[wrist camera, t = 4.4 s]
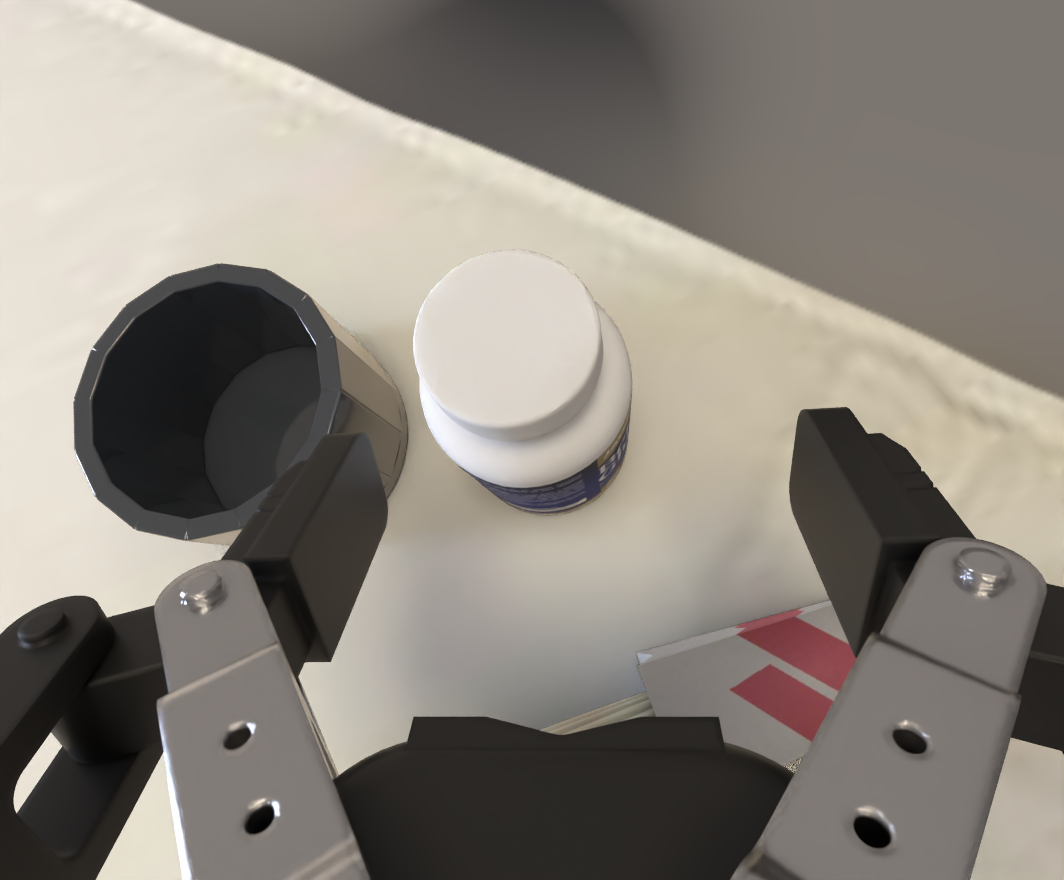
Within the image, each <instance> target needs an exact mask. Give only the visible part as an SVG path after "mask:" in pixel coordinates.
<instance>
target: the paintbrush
mask: <svg viewBox="0 0 1064 880" xmlns="http://www.w3.org/2000/svg"><path fill="white" fill-rule="evenodd" d="M636 654H637V656H638V659H639V662H640V664H639V665H637V668H638V670H639V673H640V676H641V678H642V681H643V684H644V686H645V689H646V691H647V692H644V693H641V694H638V695H634V696H631V697H628V698H625V699H623V700H620V701H617V702H614V703H612V704H609V705H606V706H603V707H601V708H598V709H595V710H592V711H590V712H587V713H584V714H581V715H579V716H576V717H573V718H570V719H568V720H565V721H562V722H559V723H557V724H554V725H551V726H548V727H546V728H543V729H540V731H544V732H548V733H552V734H558V735H565V734H571V733H575V732H579V731H583V730H588V729H592V728H596V727H600V726H604V725H608V724H612V723H616V722H621V721H625V720H629V719H633V718H637V717H719V720H720V725H721V730H722V735H723V740H724V742H726V743H730V744H733V745H737V746H740V747H743V748H746V749H748V750H751V751H754V752H756V753H759V754H761V755H763V756H765V757H767V758H769V759H771V760H773V761H775V762H777V763H778V764H780V765H782V766H783V765H785V764H788V763H790V762H792V761H794V760H796V759H798V758H801V757H803V756H804V755H805V754H806V752H807V750H808V748H809V746H810V744H811V742H812V741H813V739H814V737H815V735H816V733H817V731H818V729H819V727H820V726H821V724H822V722H823V720H824V718H825V716H826V714H827V713H828V711H829V709H830V707H831V705H832V703H833V701H834V700H835V698H836V696H837V694H838V692H839V690H840V688H841V687H842V685H843V683H844V681H845V679H846V677H847V675H848V674H849V672H850V670H851V668H852V666H853V664H854V662H855V661H856V659H857V658H855V656H854V654H853V652H852V649H851V647H850V645H849V642H848V640H847V638H846V635H845V633H844V631H843V629H842V626H841V624H840V622H839V619H838V617H837V615H836V612H835V610H834V608H833V605H832V603H831V601H830V600H828V601H825V602H821V603H817V604H814V605H810V606H806V607H802V608H799V609H795V610H791V611H788V612H784V613H780V614H777V615H773V616H769V617H766V618H762V619H758V620H754V621H751V622H747V623H743V624H740V625H736V626H732V627H729V628H725V629H721V630H718V631H714V632H710V633H706V634H703V635H699V636H695V637H692V638H688V639H684V640H681V641H677V642H673V643H669V644H666V645H662V646H658V647H655V648H651V649H647V650H644V651H640V652H636Z"/></svg>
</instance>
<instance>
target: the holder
mask: <svg viewBox="0 0 1064 880" xmlns="http://www.w3.org/2000/svg"><path fill="white" fill-rule="evenodd" d="M74 399H75V400H74V402H73V404H74V450H75V452H76V453H75V454H76V457H77V459H78V461H79V463H80V465H81V467H82V470H83V472H84V474H85V476H86V478H87V480H88V483H89V485H90V487H91V489H92V491H93V494H94V496H95V497H97V500H99V501H100V502H101V503H102V504H104V505H105V506H106V507H107V508H109V509H110V510H111V511H112V512H113V513H115V514H116V515H117V516H118V517H120V518H121V519H122V520H123V521H125V522H126V523H127V524H128V525H130V526H131V527H132V528H133V529H136V530H137V531H141V532H146V533H150V534H155V535H160V536H164V537H169V538H174V539H178V540H183V541H190V542H200V543H209V544H218V545H228V546H231V545H232V543H233V542H234V541H235V539H236V538H237V536H238V535H239V533H240V532H241V531H242V529H243V528H244V526H245V525H246V523H247V522H248V520H249V519H250V518H251V516H252V515H253V513H256V512H257V510H256V509H257V508H258V506H259V505H260V503H261V502H262V500H263V499H264V498H267V493H268V492H269V490H270V489H271V488H272V486H273V485H274V483H275V482H276V480H277V479H278V478H279V476H281V475H282V474H283V473H285V472H286V471H287V470H289V469H290V468H291V467H293V466H294V465H295V464H296V463H298V462H299V461H304V460H308V458H309V457H310V455H311V454H312V452H313V451H314V449H315V448H316V446H317V445H318V443H319V442H320V440H321V439H322V437H323V436H324V435H326V434H340V433H358V432H364V433H366V434H367V435H368V437H369V439H370V441H371V444H372V447H373V451H374V455H375V458H376V462H377V465H378V469H379V472H380V476H381V480H382V483H383V487H384V490H385V494H386V498H388V496H389V494H390V493H391V491H392V489H393V488H394V486H395V483H396V481H397V479H398V477H399V475H400V472H401V469H402V465H403V462H404V459H405V453H406V447H407V432H408V431H407V419H406V414H405V409H404V405H403V402H402V399H401V396H400V394H399V391H398V389H397V388H396V386H395V384H394V382H393V380H392V379H391V378H390V376H389V375H388V374H387V372H386V371H385V370H384V369H383V368H382V367H381V366H380V365H379V363H378V362H377V360H376V359H375V357H374V356H373V355H372V354H370V353H369V352H368V351H367V350H366V349H365V348H364V347H363V346H362V345H361V344H360V343H359V342H358V341H357V340H356V339H355V338H354V337H353V336H352V335H350V334H349V333H348V332H347V331H346V330H345V329H344V328H343V327H342V326H341V325H340V324H339V323H338V322H337V321H336V320H335V319H334V318H333V317H331V316H330V315H329V314H328V313H327V312H326V311H325V310H324V309H323V308H322V307H321V306H320V305H319V304H318V303H317V302H316V301H315V300H314V299H313V298H311V297H310V296H309V295H308V294H307V293H305V292H304V291H302V290H301V289H299V288H297V287H296V286H294V285H293V284H291V283H289V282H288V281H286V280H285V279H283V278H281V277H280V276H278V275H277V274H275V273H274V272H272V271H269V270H267V269H260V268H252V267H245V266H237V265H230V264H222V263H221V264H214V265H210V266H206V267H202V268H199V269H195V270H191V271H187V272H183V273H179V274H175V275H172V276H171V277H170V276H169V277H167V278H165V279H164V280H162V281H161V282H159V283H158V284H156V285H155V286H153V287H152V288H150V289H149V290H147V291H146V292H144V293H143V294H141V295H140V296H138V297H137V298H135V299H134V300H132V301H131V302H129V303H128V304H126V307H124V308H123V309H122V310H121V312H120V313H119V314H118V315H117V317H116V318H115V319H114V320H113V322H112V323H111V324H110V326H109V327H108V328H107V329H106V331H105V332H104V333H103V335H102V336H101V337H100V338H99V340H98V341H97V342H96V344H95V345H94V346H93V350H91V351H90V354H89V357H88V360H87V363H86V366H85V368H84V371H83V374H82V377H81V380H80V383H79V385H78V388H77V391H76V394H75V397H74Z"/></svg>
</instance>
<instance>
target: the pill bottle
mask: <svg viewBox="0 0 1064 880" xmlns="http://www.w3.org/2000/svg"><path fill="white" fill-rule="evenodd" d="M413 352H414V359H415V364H416V368H417V371H418V374H419V376H420V383H419V385H420V398H421V404H422V408H423V412H424V416H425V419H426V422H427V424H428V426H429V428H430V430H431V432H432V434H433V436H434V438H435V439H436V441H437V442H438V444H439V445H440V446H441V448H442V449H443V450H444V452H445V453H446V454H447V455H448V456H449V457H450V458H451V459H452V460H453V461H454V462H455V463H456V464H457V465H458V466H459V467H460V468H462V469H463V470H464V471H466V472H467V473H469V474H470V475H471V476H472V477H474V478H475V479H476V480H477V481H478V482H480V483H481V484H482V485H483V486H485V487H486V488H487V489H488V490H490V491H491V492H492V493H493V494H494V495H496V496H497V497H498V498H500V499H501V500H503V501H504V502H506V503H507V504H509V505H511V506H513V507H515V508H517V509H520V510H523V511H525V512H529V513H534V514H540V515H555V514H562V513H567V512H571V511H574V510H577V509H579V508H581V507H583V506H585V505H587V504H589V503H590V502H592V501H593V500H595V499H596V498H597V497H599V496H600V495H601V494H602V493H603V492H604V491H605V490H606V489H607V488H608V487H609V486H610V484H611V483H612V482H613V480H614V479H615V477H616V476H617V474H618V472H619V470H620V468H621V466H622V463H623V460H624V457H625V453H626V449H627V442H628V432H629V420H630V409H631V397H632V375H631V365H630V360H629V356H628V352H627V349H626V346H625V343H624V340H623V338H622V336H621V334H620V332H619V330H618V328H617V326H616V325H615V323H614V322H613V320H612V319H611V317H610V316H609V315H608V314H607V313H606V312H605V310H604V309H603V308H602V307H600V306H599V305H598V304H597V303H596V302H595V301H594V300H593V298H592V296H591V294H590V292H589V291H588V289H587V288H586V286H585V285H584V283H583V282H582V281H581V280H580V279H579V277H578V276H576V275H575V274H574V273H573V272H572V271H571V270H570V269H569V268H567V267H566V266H564V265H563V264H561V263H560V262H558V261H556V260H554V259H552V258H550V257H548V256H545V255H543V254H539V253H535V252H532V251H525V250H500V251H494V252H489V253H486V254H482V255H479V256H476V257H473V258H471V259H469V260H467V261H465V262H463V263H461V264H460V265H458V266H457V267H455V268H454V269H453V270H451V271H450V272H449V273H447V274H446V275H445V276H444V277H443V278H442V279H441V280H440V281H439V282H438V283H437V284H436V285H435V286H434V287H433V289H432V290H431V292H430V293H429V294H428V296H427V298H426V299H425V301H424V303H423V305H422V307H421V309H420V311H419V314H418V317H417V321H416V324H415V329H414V337H413Z"/></svg>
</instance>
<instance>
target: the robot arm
mask: <svg viewBox="0 0 1064 880" xmlns="http://www.w3.org/2000/svg"><path fill="white" fill-rule="evenodd" d="M789 493H790V503H791V508H792V512H793V515H794V517H795V520H796V522H797V524H798V527H799V529H800V531H801V534H802V536H803V538H804V540H805V543H806V545H807V547H808V550H809V552H810V554H811V557H812V559H813V561H814V564H815V566H816V568H817V571H818V573H819V575H820V578H821V580H822V582H823V585H824V587H825V589H826V591H827V594H828V596H829V598H830V601H831V603H832V605H833V608H834V610H835V612H836V615H837V617H838V619H839V622H840V624H841V626H842V629H843V631H844V633H845V635H846V638H847V640H848V642H849V645H850V647H851V649H852V652H853V654H854V656H855V658H857V659H856V661H855V662H854V664H853V666H852V668H851V670H850V672H849V674H848V675H847V677H846V679H845V681H844V683H843V685H842V687H841V688H840V690H839V692H838V694H837V696H836V698H835V700H834V701H833V703H832V705H831V707H830V709H829V711H828V713H827V714H826V716H825V718H824V720H823V722H822V724H821V726H820V727H819V729H818V731H817V733H816V735H815V737H814V739H813V741H812V742H811V744H810V746H809V748H808V750H807V752H806V754H805V755H804V757H803V759H802V761H801V763H800V765H799V767H798V768H797V770H796V772H795V773H793V772H791V771H790V770H788V769H786V768H785V767H783V766H782V765H780V764H778V763H777V762H775V761H773V760H771V759H769V758H767V757H765V756H763V755H761V754H759V753H756V752H754V751H751V750H748V749H746V748H743V747H740V746H737V745H733V744H730V743H726V742H724V740H723V735H722V730H721V725H720V720H719V717H637V718H633V719H629V720H625V721H621V722H616V723H612V724H608V725H604V726H600V727H596V728H592V729H588V730H583V731H579V732H575V733H571V734H565V735H558V734H552V733H548V732H544V731H540V730H536V729H532V728H528V727H524V726H520V725H516V724H512V723H508V722H505V721H501V720H497V719H493V718H489V717H413V721H412V725H411V729H410V733H409V737H408V741H407V742H404V743H400V744H397V745H394V746H392V747H389V748H386V749H384V750H381V751H379V752H377V753H375V754H373V755H371V756H369V757H367V758H365V759H363V760H361V761H360V762H358V763H357V764H355V765H353V766H352V767H350V768H349V769H347V770H346V771H344V772H343V773H342V774H340V775H339V774H338V771H337V769H336V767H335V764H334V762H333V759H332V757H331V754H330V752H329V750H328V747H327V745H326V742H325V740H324V737H323V735H322V733H321V730H320V728H319V725H318V723H317V720H316V718H315V716H314V713H313V711H312V708H311V706H310V703H309V701H308V698H307V696H306V694H305V691H304V689H303V686H302V684H301V682H300V680H299V677H298V676H299V674H300V671H301V669H302V667H303V665H304V663H305V662H331V660H332V657H333V655H334V652H335V650H336V648H337V645H338V643H339V640H340V638H341V635H342V633H343V630H344V628H345V626H346V623H347V621H348V618H349V616H350V613H351V611H352V609H353V606H354V604H355V601H356V599H357V596H358V594H359V591H360V589H361V587H362V584H363V582H364V579H365V577H366V574H367V572H368V569H369V567H370V565H371V562H372V560H373V557H374V555H375V552H376V550H377V548H378V545H379V543H380V540H381V538H382V535H383V533H384V530H385V528H386V524H387V516H388V506H387V498H386V494H385V490H384V487H383V483H382V480H381V476H380V472H379V469H378V465H377V462H376V458H375V455H374V451H373V447H372V444H371V441H370V439H369V437H368V435H367V434H366V433H364V432H358V433H340V434H326V435H324V436H323V437H322V439H321V440H320V442H319V443H318V445H317V446H316V448H315V449H314V451H313V452H312V454H311V455H310V457H309V458H308V460H304V461H299V462H298V463H296V464H295V465H294V466H293V467H291V468H290V469H289V470H287V471H286V472H285V473H283V474H282V475H281V476H279V478H278V479H277V480H276V482H275V483H274V485H273V486H272V488H271V489H270V490H269V492H268V493H267V498H264V499H263V500H262V502H261V503H260V505H259V506H258V508H257V509H256V510H257V512H256V513H253V515H252V516H251V518H250V519H249V520H248V522H247V523H246V525H245V526H244V528H243V529H242V531H241V532H240V533H239V535H238V536H237V538H236V539H235V541H234V542H233V543H232V545H231V546H230V548H229V549H228V551H227V552H226V553H225V555H224V556H223V558H222V559H221V560H219V561H213V562H209V563H206V564H203V565H200V566H197V567H195V568H193V569H191V570H189V571H187V572H185V573H184V574H182V575H180V576H179V577H178V578H176V579H175V580H173V581H172V582H171V583H170V584H169V585H168V586H167V587H166V588H165V589H164V590H163V591H162V592H161V594H160V595H159V597H158V599H157V601H156V603H155V605H154V606H150V607H146V608H143V609H139V610H135V611H131V612H127V613H123V614H119V615H115V616H112V617H108V618H107V617H106V615H105V614H104V612H103V611H102V609H101V607H100V606H99V604H98V603H97V601H95V600H94V599H93V598H90V597H87V596H70V597H65V598H60V599H57V600H54V601H51V602H48V603H46V604H44V605H41V606H39V607H37V608H35V609H33V610H31V611H30V612H28V613H26V614H25V615H23V616H22V617H20V618H19V619H17V620H16V621H15V622H13V623H12V624H11V625H10V626H9V627H7V628H6V629H5V630H4V631H3V632H2V633H1V634H0V880H96V878H97V876H98V874H99V872H100V870H101V868H102V867H103V865H104V863H105V861H106V859H107V857H108V855H109V853H110V851H111V850H112V848H113V846H114V844H115V842H116V840H117V838H118V836H119V835H120V833H121V831H122V829H123V827H124V825H125V823H126V821H127V819H128V818H129V816H130V814H131V812H132V810H133V808H134V806H135V804H136V803H137V801H138V799H139V797H140V795H141V793H142V791H143V789H144V788H145V786H146V784H147V782H148V780H149V778H150V776H151V774H152V772H153V771H154V769H155V767H156V765H157V763H158V761H159V759H160V757H161V756H162V754H163V752H164V759H165V765H166V772H167V778H168V785H169V791H170V797H171V804H172V810H173V817H174V823H175V830H176V836H177V843H178V849H179V855H180V862H181V868H182V875H183V880H970V878H971V874H972V871H973V867H974V864H975V860H976V857H977V853H978V850H979V846H980V843H981V839H982V836H983V832H984V829H985V825H986V822H987V818H988V815H989V811H990V808H991V804H992V801H993V797H994V794H995V790H996V787H997V783H998V780H999V776H1000V773H1001V769H1002V766H1003V762H1004V759H1005V756H1006V752H1007V749H1008V745H1009V742H1010V738H1015V739H1019V740H1023V741H1026V742H1030V743H1034V744H1038V745H1041V746H1045V747H1049V748H1053V749H1057V750H1060V751H1062V753H1063V754H1064V587H1059V586H1055V585H1050V584H1047V583H1046V582H1045V580H1044V578H1043V576H1042V575H1041V573H1040V572H1039V571H1038V569H1037V568H1036V567H1035V566H1033V565H1032V564H1031V563H1030V562H1029V561H1028V560H1026V559H1025V558H1023V557H1022V556H1020V555H1019V554H1017V553H1015V552H1013V551H1011V550H1009V549H1007V548H1005V547H1003V546H1000V545H997V544H994V543H991V542H988V541H984V540H979V539H976V538H975V537H974V535H973V534H972V533H971V531H970V530H969V529H968V528H967V526H966V525H965V524H964V522H963V521H962V520H961V519H960V517H959V516H958V515H957V513H956V512H955V511H954V510H953V508H952V507H951V506H950V504H949V503H948V502H947V501H946V499H945V498H944V497H943V495H942V494H941V493H940V491H939V490H938V489H937V488H936V487H933V482H932V481H931V480H930V479H929V477H928V476H927V475H926V473H925V472H924V471H923V472H921V467H920V466H919V464H918V463H917V462H916V460H915V459H914V458H913V457H912V455H911V454H910V453H909V451H908V450H907V449H906V448H904V447H903V446H901V445H899V444H898V443H896V442H895V441H893V440H891V439H890V438H888V437H887V436H885V435H883V434H882V433H874V434H867V433H866V431H865V430H864V428H863V427H862V425H861V424H860V423H859V421H858V420H857V418H856V417H855V416H854V414H853V413H852V411H851V410H850V409H849V408H847V407H840V408H821V409H804V410H802V411H801V412H800V414H799V416H798V420H797V427H796V435H795V443H794V450H793V458H792V466H791V474H790V482H789ZM50 732H51V733H52V734H53V735H54V736H55V737H56V739H57V740H58V741H59V742H60V744H61V745H62V748H61V749H60V751H59V752H58V754H57V755H56V757H55V758H54V759H53V761H52V762H51V764H50V765H49V767H48V768H47V770H46V771H45V773H44V774H43V776H42V777H41V779H40V780H39V782H38V783H37V785H36V786H35V787H34V789H33V790H32V792H31V793H30V795H29V796H28V798H27V799H26V801H25V802H24V804H23V805H22V807H21V808H20V810H19V811H18V812H17V814H16V811H15V809H14V804H13V797H14V791H15V787H16V784H17V781H18V779H19V777H20V775H21V774H22V772H23V770H24V769H25V768H26V766H27V765H28V763H29V762H30V761H31V759H32V758H33V756H34V755H35V753H36V752H37V751H38V749H39V748H40V746H41V745H42V744H43V742H44V741H45V739H46V738H47V737H48V735H49V734H50Z"/></svg>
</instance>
